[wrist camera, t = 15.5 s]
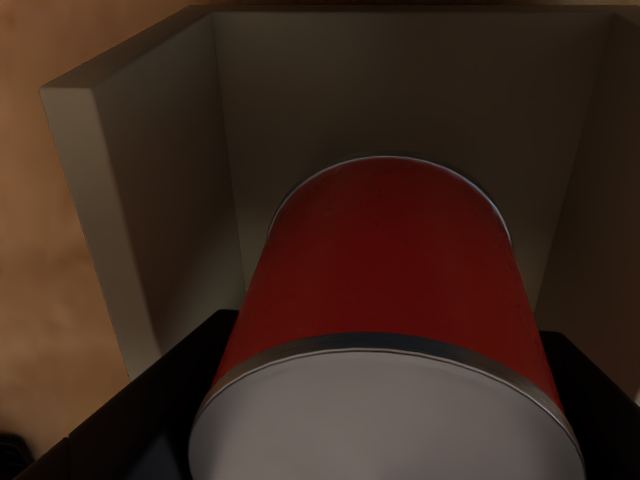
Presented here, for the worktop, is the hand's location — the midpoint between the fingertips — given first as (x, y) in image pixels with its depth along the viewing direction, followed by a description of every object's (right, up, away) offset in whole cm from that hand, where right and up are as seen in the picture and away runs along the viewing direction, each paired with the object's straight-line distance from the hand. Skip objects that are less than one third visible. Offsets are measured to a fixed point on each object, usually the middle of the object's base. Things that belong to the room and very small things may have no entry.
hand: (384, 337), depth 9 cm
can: (0, +1, +2) cm, 2 cm away
